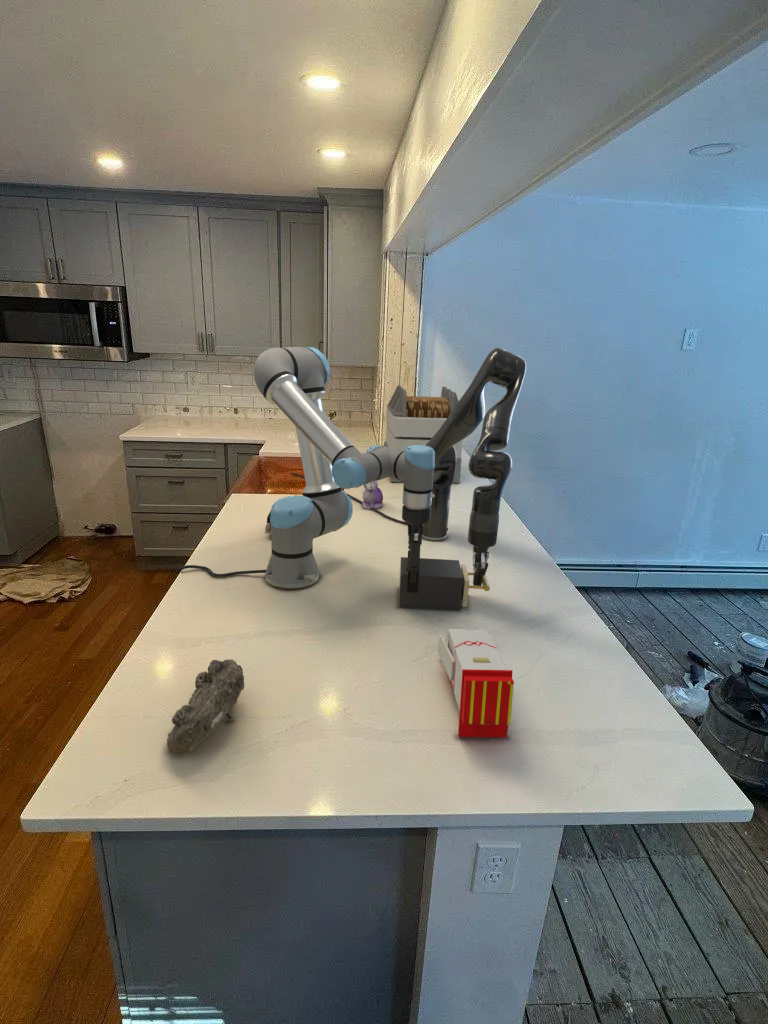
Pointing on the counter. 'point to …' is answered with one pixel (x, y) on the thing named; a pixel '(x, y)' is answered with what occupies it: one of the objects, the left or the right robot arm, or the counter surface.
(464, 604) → the drawer
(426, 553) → the counter surface
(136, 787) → the counter surface
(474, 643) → the toy
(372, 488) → the figurine
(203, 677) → the fossil
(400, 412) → the transformer
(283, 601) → the counter surface
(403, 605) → the cabinet
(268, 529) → the figurine character
